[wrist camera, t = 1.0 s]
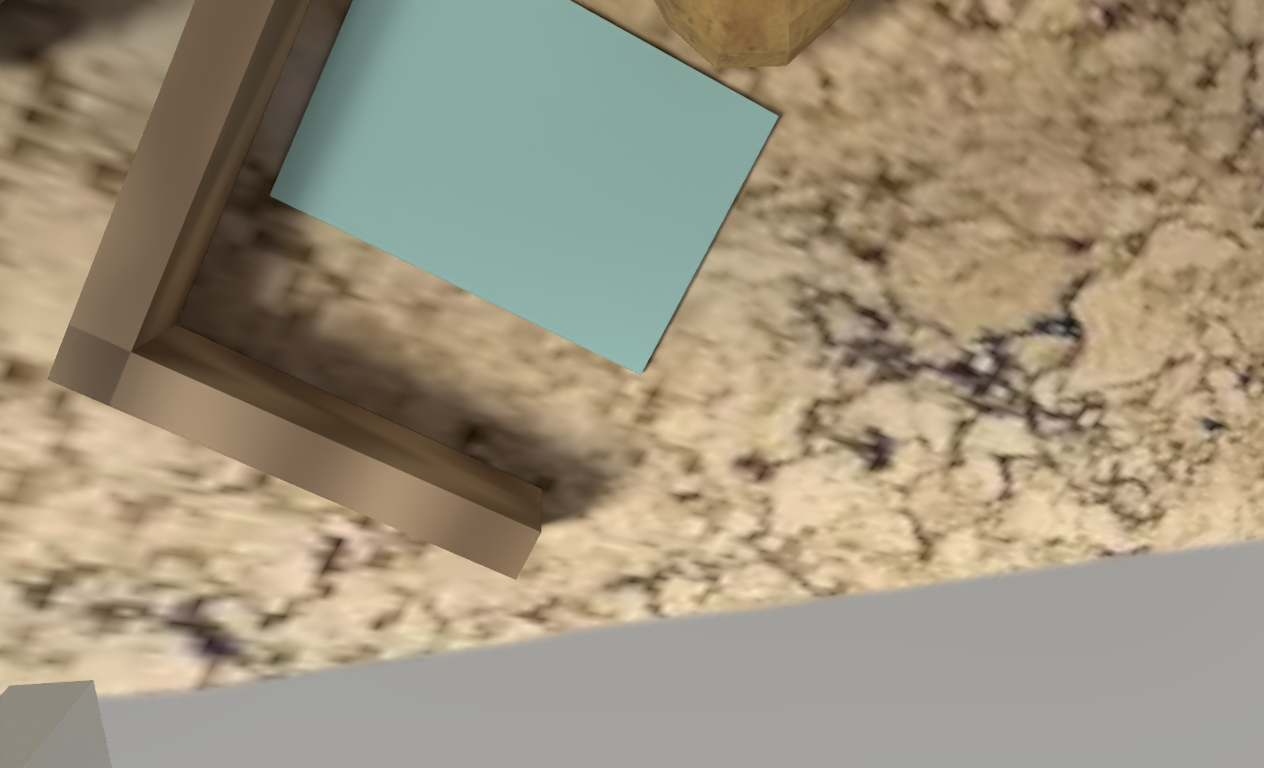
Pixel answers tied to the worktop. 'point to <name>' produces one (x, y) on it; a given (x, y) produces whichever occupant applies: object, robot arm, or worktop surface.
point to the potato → (751, 28)
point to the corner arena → (229, 381)
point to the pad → (526, 160)
